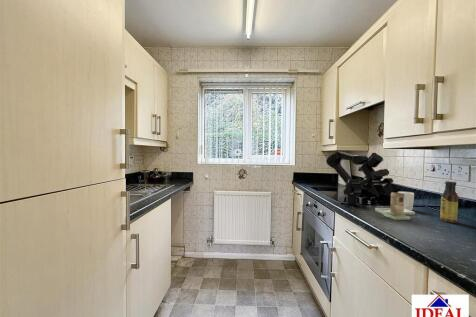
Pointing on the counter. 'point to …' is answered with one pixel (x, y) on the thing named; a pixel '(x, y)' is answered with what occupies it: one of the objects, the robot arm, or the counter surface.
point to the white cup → (408, 200)
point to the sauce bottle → (449, 203)
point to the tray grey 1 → (382, 210)
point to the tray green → (397, 217)
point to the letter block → (397, 204)
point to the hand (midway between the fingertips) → (385, 195)
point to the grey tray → (408, 212)
